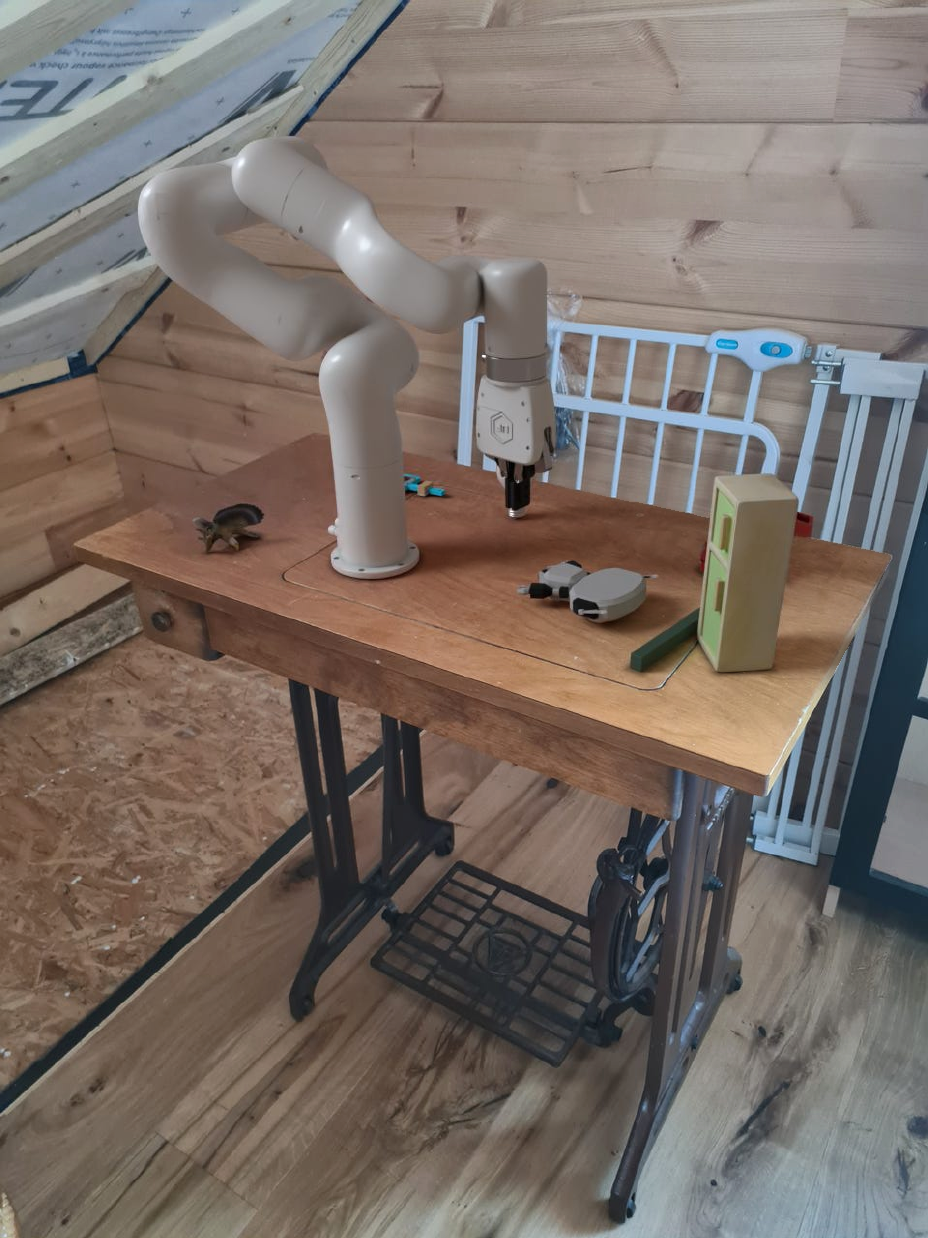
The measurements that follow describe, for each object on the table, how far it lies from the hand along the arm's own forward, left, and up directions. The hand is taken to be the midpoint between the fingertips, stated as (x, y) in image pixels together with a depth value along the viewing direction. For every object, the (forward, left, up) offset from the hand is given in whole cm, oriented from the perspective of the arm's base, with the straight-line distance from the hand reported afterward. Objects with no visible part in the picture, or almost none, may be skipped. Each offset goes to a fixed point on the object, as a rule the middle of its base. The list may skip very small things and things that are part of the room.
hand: (517, 506), depth 121 cm
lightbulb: (-13, +15, -11) cm, 23 cm away
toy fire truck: (+24, +21, -11) cm, 33 cm away
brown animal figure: (-38, -21, -11) cm, 45 cm away
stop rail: (+26, -1, -11) cm, 28 cm away
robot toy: (+12, 0, -11) cm, 16 cm away
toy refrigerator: (+32, +2, -11) cm, 34 cm away
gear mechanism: (-37, +10, -11) cm, 40 cm away
